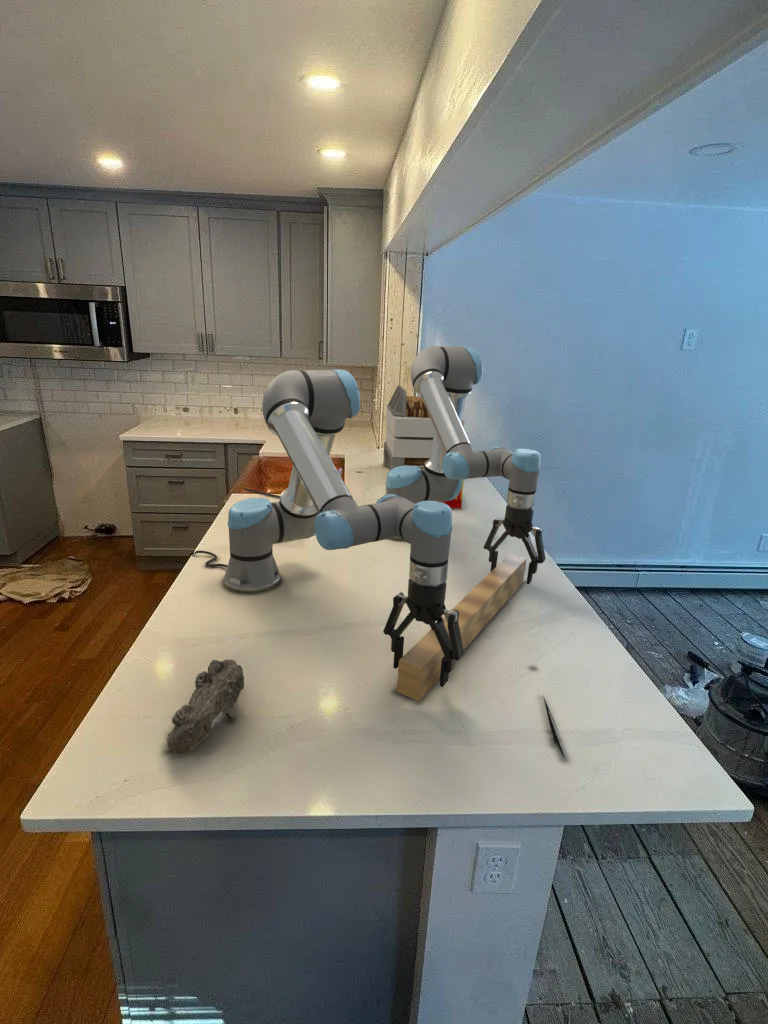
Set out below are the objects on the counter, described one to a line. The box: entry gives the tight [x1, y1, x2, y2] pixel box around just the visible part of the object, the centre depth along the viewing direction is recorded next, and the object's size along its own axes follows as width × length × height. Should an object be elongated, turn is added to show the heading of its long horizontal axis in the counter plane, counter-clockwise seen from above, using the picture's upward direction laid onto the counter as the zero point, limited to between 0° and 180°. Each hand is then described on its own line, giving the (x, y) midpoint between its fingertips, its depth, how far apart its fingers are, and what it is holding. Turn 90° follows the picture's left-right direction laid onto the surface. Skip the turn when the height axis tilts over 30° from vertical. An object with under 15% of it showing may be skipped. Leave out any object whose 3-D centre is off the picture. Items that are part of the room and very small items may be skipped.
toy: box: [442, 480, 464, 510], centre depth 239 cm, size 12×13×30 cm
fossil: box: [166, 658, 245, 754], centre depth 106 cm, size 22×10×15 cm
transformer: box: [383, 384, 465, 471], centre depth 268 cm, size 34×33×41 cm
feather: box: [533, 666, 565, 758], centre depth 114 cm, size 2×28×2 cm
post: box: [396, 553, 528, 702], centre depth 142 cm, size 66×5×8 cm, turn 149°
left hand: (420, 674), depth 119 cm, fingers open, 10 cm apart
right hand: (510, 577), depth 165 cm, fingers open, 10 cm apart
